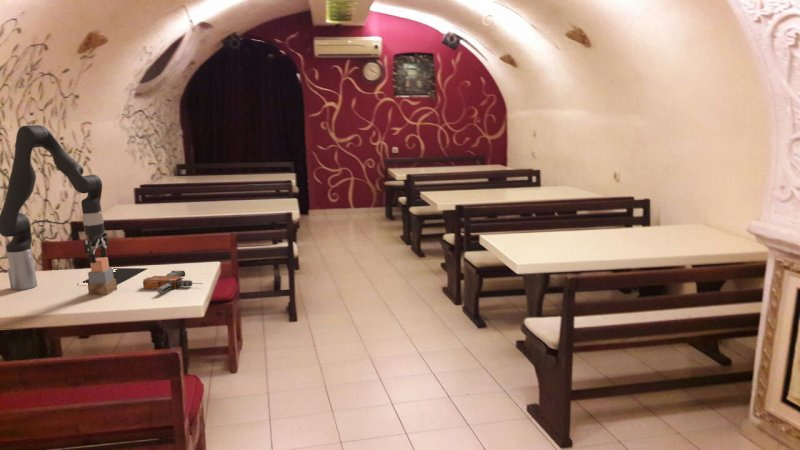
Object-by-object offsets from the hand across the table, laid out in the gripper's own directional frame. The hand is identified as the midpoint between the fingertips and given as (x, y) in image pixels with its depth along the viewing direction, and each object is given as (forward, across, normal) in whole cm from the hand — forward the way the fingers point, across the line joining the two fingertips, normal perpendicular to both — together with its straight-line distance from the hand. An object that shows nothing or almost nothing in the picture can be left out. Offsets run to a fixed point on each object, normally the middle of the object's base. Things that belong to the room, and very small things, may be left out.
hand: (98, 260), depth 250 cm
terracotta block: (+5, 0, 0) cm, 5 cm away
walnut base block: (+15, 0, 0) cm, 15 cm away
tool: (+15, -8, +29) cm, 34 cm away
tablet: (+15, -23, -8) cm, 29 cm away
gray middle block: (+10, 0, 0) cm, 10 cm away
